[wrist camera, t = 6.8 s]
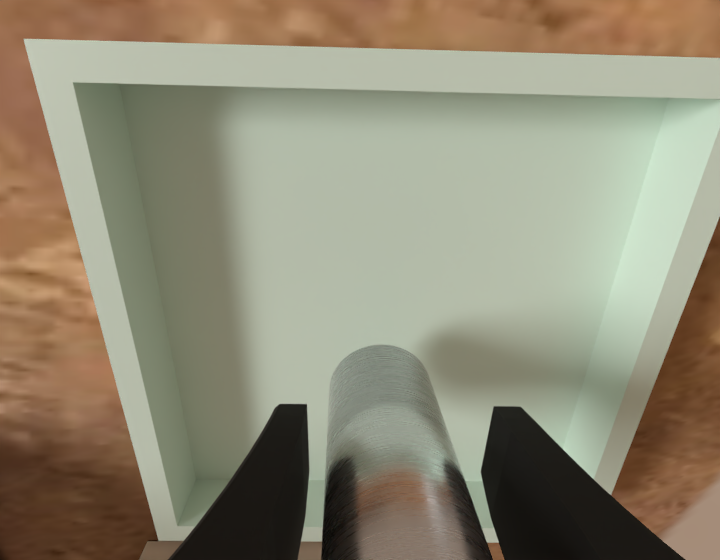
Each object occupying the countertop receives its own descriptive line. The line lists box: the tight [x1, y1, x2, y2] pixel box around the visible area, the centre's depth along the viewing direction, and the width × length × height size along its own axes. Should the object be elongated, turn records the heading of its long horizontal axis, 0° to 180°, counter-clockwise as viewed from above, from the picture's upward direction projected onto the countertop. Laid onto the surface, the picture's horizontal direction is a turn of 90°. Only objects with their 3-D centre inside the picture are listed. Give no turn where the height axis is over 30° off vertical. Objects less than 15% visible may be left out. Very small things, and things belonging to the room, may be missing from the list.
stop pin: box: [321, 345, 493, 560], centre depth 9 cm, size 4×4×8 cm
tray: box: [24, 39, 720, 543], centre depth 13 cm, size 16×16×2 cm
